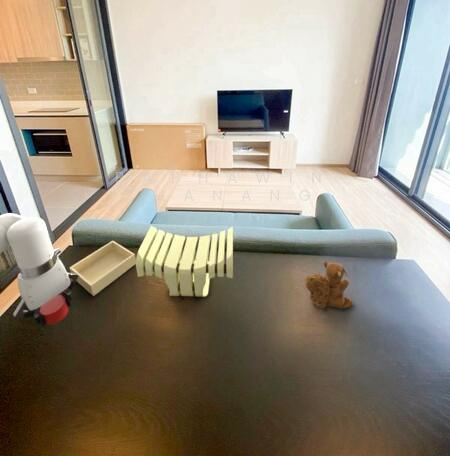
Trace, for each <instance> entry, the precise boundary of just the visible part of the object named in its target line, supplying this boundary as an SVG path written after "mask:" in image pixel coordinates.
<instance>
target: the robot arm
mask: <svg viewBox="0 0 450 456" xmlns="http://www.w3.org/2000/svg"><path fill="white" fill-rule="evenodd" d="M9 247H10V249H11V252H12V254H13V258H14V260H15V263H16V265H17V267H18V270H19V273H18V274H17V286H18V290H19V291H18V292H19V294H20V297H21V300H20V302H19V303H18V305H17V307H16V309H15V310H14V311H13V313H12V316H13V317H14V318H15V319H19V318H20V319H21V318H33V319H34V322H35V323H36V325H41V326H42V327H44V326H46V323H45V320H44V318H43V315H42V314H41V312H40V308H41V306H42V305H43V304H45V303H46V302H48V301H49V300H51V299H52V298H54V297H55V296H57V295H62V296H64V297H65V300H66V303H67V306H68V308H70V307H72V301H73V298H72V291H73V288H74V287H75V284H76V282H77V281H76V280H77V278H78V277H79V275H78V274H77V273H71V272H68V271H67V270H66V267H65V265H64V264H63V262H62V260H61V259H60V257H59V256H58V255H59V254H61V253H62V250H61V249H60V247H58V248H55V249H54V247H53V243H52V240H51V237H50V233H49V231H48V228H47V223H46V222H45V220H44V219H42V218H41V217H36V216H35V217H34V216H32V217H27V216H23V215H20V214H17V213H14V212H13V213H12V212H6V213H3V214H0V254H2V253H3V252H4V251H6V250H7V249H8V248H9ZM26 307H27V308H26Z"/></svg>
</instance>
